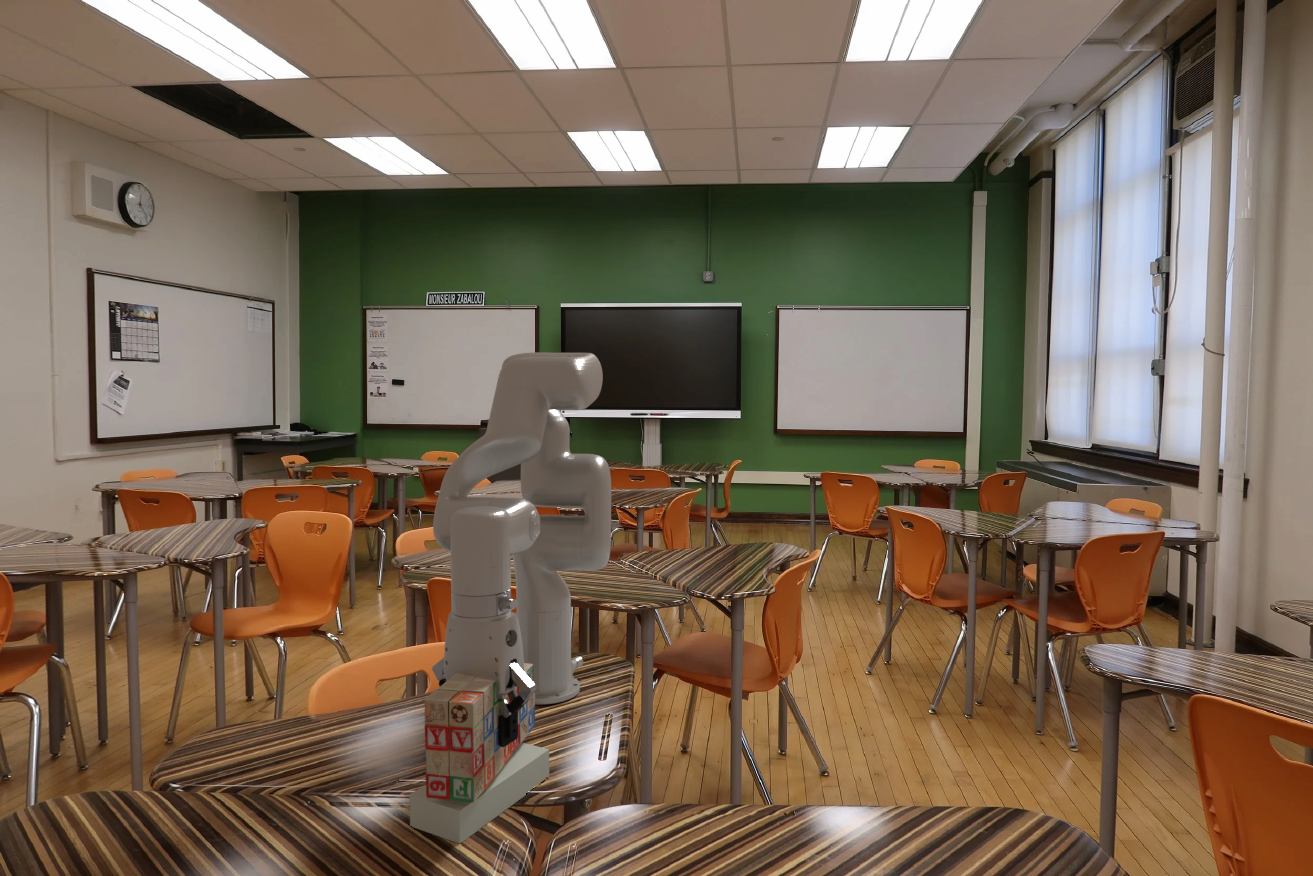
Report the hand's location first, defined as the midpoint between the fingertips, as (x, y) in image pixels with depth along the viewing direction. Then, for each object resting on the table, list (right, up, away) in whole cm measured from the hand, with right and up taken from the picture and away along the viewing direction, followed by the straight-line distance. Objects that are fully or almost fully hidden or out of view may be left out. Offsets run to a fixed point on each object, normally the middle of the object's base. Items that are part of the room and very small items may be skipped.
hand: (483, 735), depth 102 cm
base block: (0, -9, 0) cm, 9 cm away
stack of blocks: (0, -4, +1) cm, 4 cm away
